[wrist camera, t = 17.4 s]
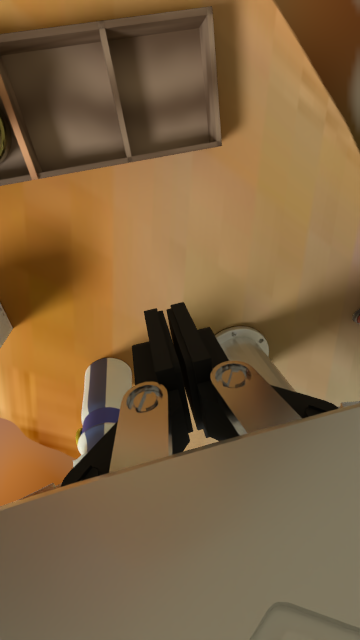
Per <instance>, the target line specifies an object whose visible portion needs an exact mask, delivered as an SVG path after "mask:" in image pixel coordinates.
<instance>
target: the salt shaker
mask: <svg viewBox="0 0 360 640" xmlns="http://www.w3.org/2000/svg"><path fill="white" fill-rule="evenodd" d="M11 144H12V135H11V129H10V126H9V123H8V120H7V118H6V116H5V114H4V112H3V111H2V109H1V108H0V164H1V163H2V162H3V161H4V160H5V159H6V158H7V156H8V154H9V152H10V149H11Z"/></svg>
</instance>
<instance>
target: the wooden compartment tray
mask: <svg viewBox="0 0 360 640" xmlns="http://www.w3.org/2000/svg"><path fill="white" fill-rule="evenodd" d="M0 108H1V109H2V111H3V112H4V114H5V116H6V118H7V120H8V123H9V126H10V129H11V135H12V144H11V149H10V152H9V154H8V156H7V158H6V159H5V160H4V161H3V162H2V163H1V164H0V186H2V185H7V184H13V183H18V182H24V181H29V180H35V179H41V178H46V177H52V176H57V175H63V174H68V173H74V172H79V171H85V170H91V169H96V168H102V167H107V166H113V165H118V164H124V163H129V162H135V161H141V160H146V159H152V158H157V157H163V156H168V155H174V154H179V153H185V152H191V151H196V150H202V149H207V148H213V147H218V146H222V143H221V128H220V114H219V99H218V85H217V70H216V56H215V41H214V27H213V12H212V6H211V7H203V8H196V9H188V10H181V11H173V12H165V13H158V14H150V15H143V16H135V17H127V18H120V19H112V20H105V21H97V22H89V23H82V24H74V25H67V26H59V27H52V28H44V29H36V30H29V31H21V32H14V33H6V34H0Z"/></svg>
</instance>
